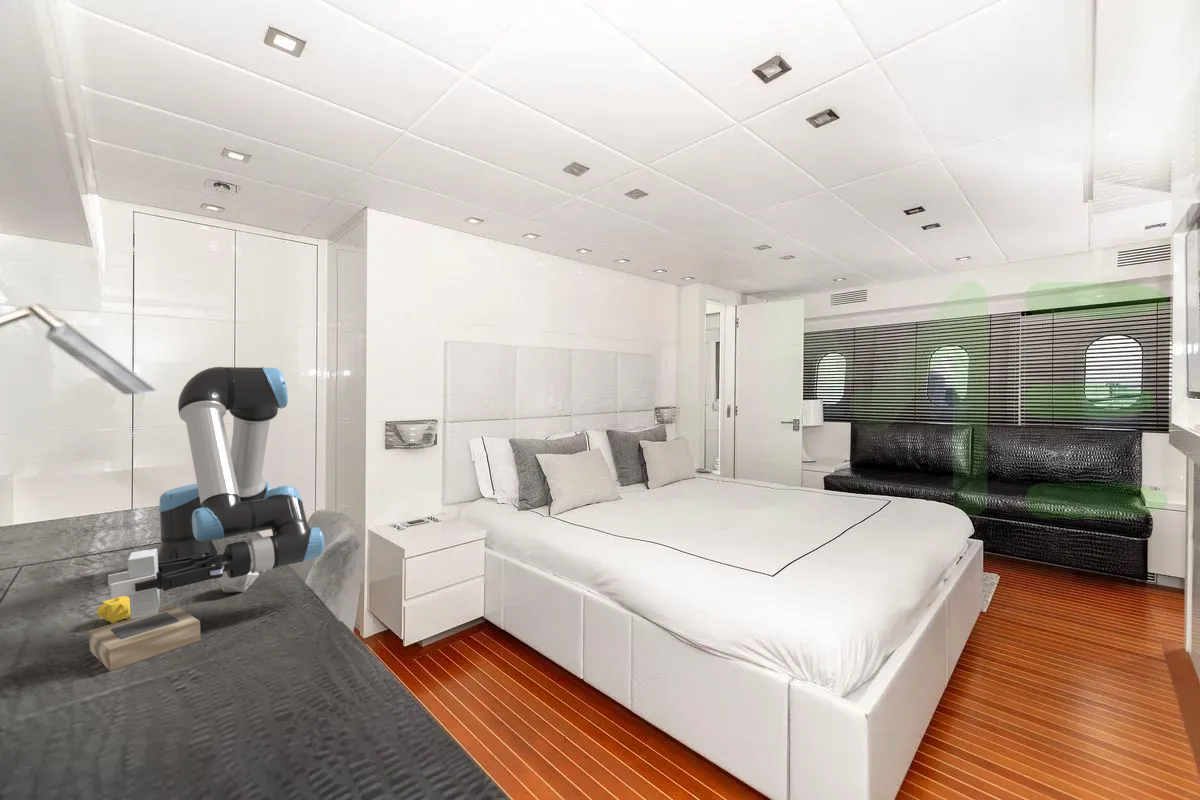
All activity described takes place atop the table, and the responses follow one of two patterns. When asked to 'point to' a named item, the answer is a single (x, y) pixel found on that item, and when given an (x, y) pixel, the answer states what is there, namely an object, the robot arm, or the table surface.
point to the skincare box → (137, 568)
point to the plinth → (143, 637)
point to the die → (237, 582)
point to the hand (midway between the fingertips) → (110, 586)
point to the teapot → (115, 609)
